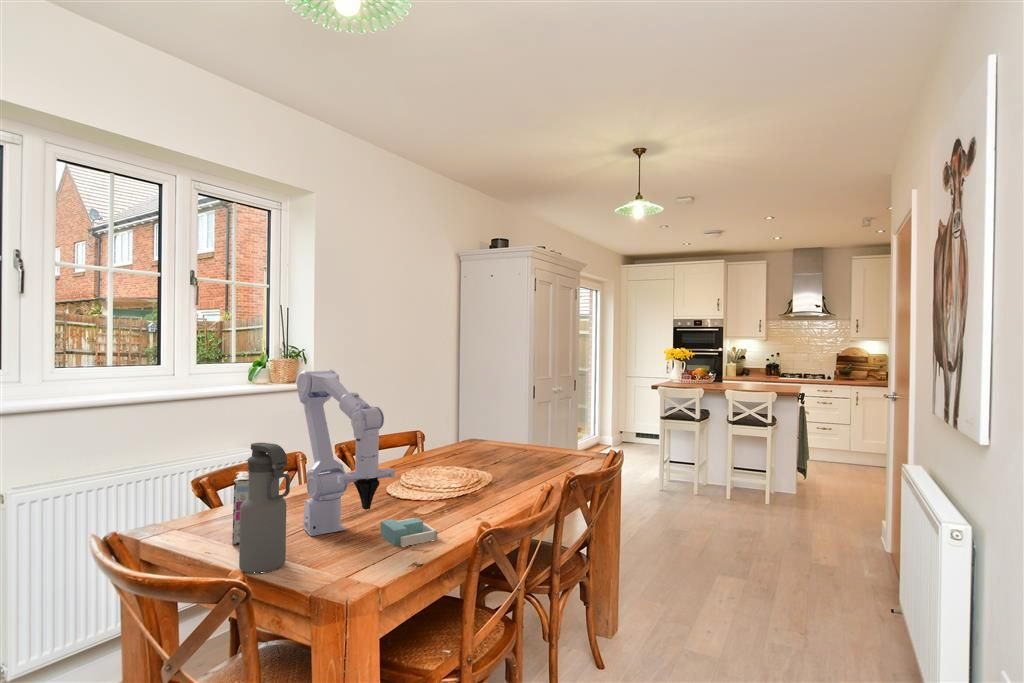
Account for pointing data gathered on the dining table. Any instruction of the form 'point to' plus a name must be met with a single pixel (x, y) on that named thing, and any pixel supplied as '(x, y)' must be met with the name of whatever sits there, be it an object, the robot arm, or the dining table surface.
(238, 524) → the candy bar box
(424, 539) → the white u-shaped bracket
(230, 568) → the dining table surface
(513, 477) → the dining table surface
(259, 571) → the water bottle
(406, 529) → the t block
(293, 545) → the dining table surface
